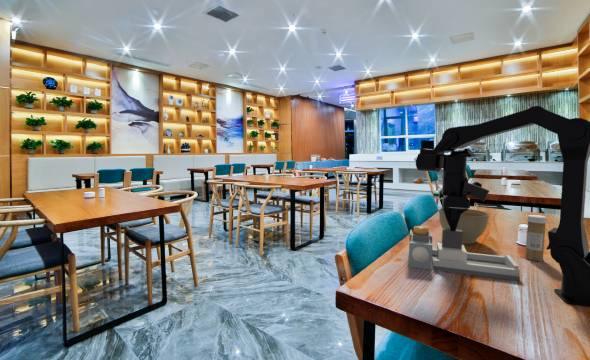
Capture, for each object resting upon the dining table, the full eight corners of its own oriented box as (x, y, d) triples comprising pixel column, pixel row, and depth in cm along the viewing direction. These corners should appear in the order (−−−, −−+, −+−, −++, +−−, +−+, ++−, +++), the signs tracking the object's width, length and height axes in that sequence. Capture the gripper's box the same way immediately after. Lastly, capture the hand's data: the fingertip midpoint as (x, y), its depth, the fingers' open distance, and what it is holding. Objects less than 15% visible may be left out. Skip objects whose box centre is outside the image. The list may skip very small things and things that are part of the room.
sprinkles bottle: (545, 259, 95) (549, 216, 93) (539, 262, 92) (543, 217, 91) (528, 255, 98) (531, 213, 97) (521, 258, 96) (525, 215, 95)
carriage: (466, 266, 85) (467, 234, 85) (438, 262, 88) (439, 231, 87) (462, 258, 92) (464, 228, 91) (436, 255, 94) (438, 226, 94)
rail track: (519, 281, 79) (520, 268, 79) (433, 269, 86) (434, 258, 86) (506, 264, 90) (507, 253, 90) (431, 256, 97) (432, 245, 97)
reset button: (428, 236, 90) (428, 229, 90) (413, 235, 91) (413, 228, 91) (427, 233, 93) (428, 226, 93) (413, 232, 95) (413, 225, 95)
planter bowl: (472, 250, 104) (474, 218, 103) (428, 238, 117) (429, 210, 116) (495, 242, 112) (497, 212, 111) (452, 232, 126) (453, 206, 125)
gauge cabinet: (431, 270, 86) (432, 239, 85) (408, 267, 88) (409, 237, 87) (429, 256, 98) (431, 229, 97) (409, 253, 100) (410, 227, 99)
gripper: (495, 176, 76) (491, 239, 78) (480, 171, 93) (477, 222, 95) (445, 175, 80) (441, 234, 82) (440, 170, 97) (437, 219, 99)
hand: (451, 227), depth 89 cm, fingers open, 9 cm apart
